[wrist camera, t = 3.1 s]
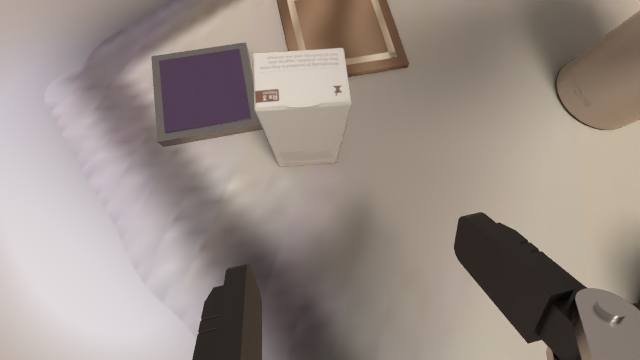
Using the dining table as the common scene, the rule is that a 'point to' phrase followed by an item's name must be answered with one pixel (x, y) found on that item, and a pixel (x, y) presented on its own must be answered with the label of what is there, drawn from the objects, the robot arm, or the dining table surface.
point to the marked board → (345, 32)
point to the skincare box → (302, 103)
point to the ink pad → (203, 94)
